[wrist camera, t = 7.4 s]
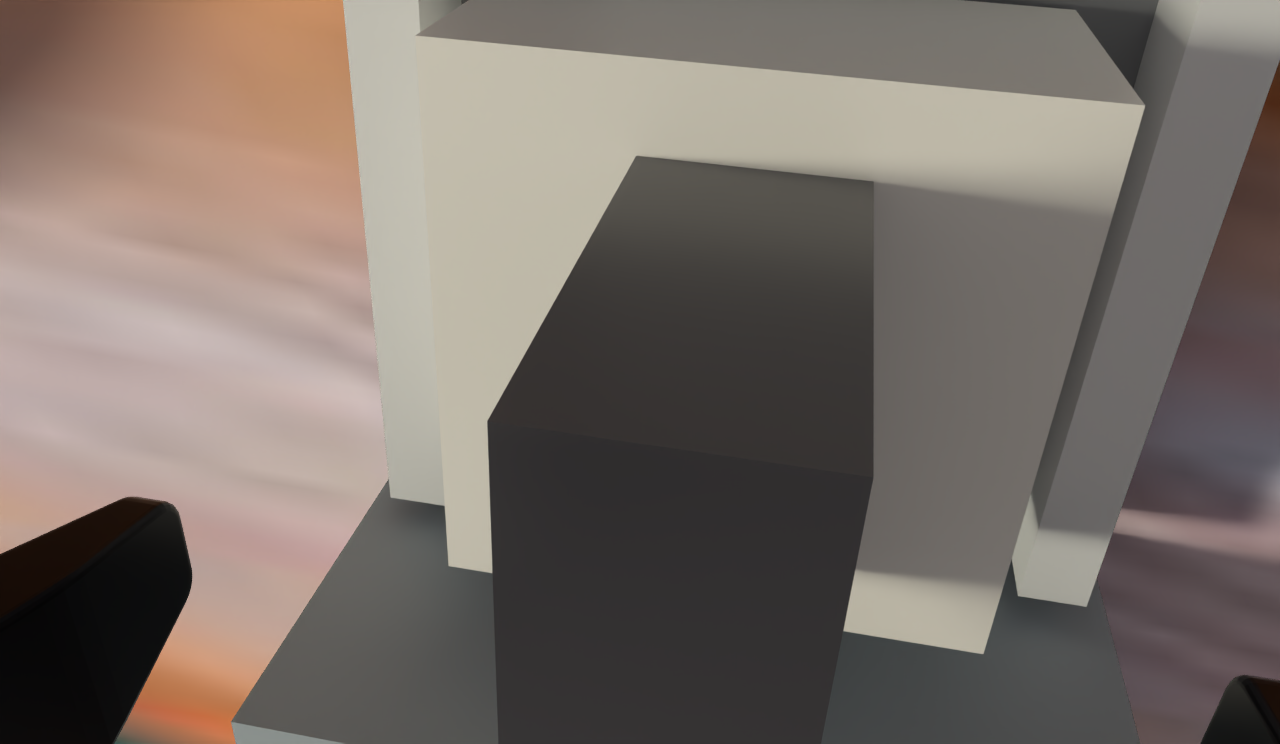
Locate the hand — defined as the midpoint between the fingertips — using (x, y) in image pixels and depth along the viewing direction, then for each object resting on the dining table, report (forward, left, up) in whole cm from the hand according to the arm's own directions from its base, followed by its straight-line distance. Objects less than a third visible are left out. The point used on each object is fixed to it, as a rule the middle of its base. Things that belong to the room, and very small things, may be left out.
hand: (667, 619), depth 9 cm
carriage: (0, 0, -8) cm, 8 cm away
